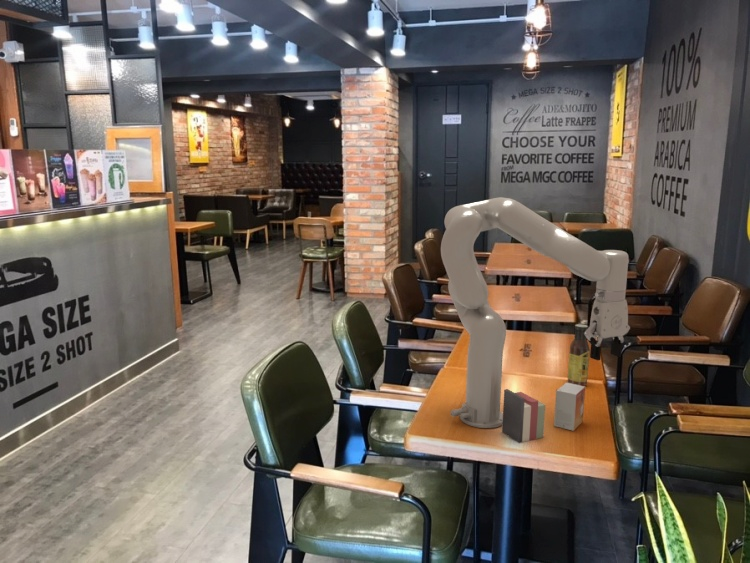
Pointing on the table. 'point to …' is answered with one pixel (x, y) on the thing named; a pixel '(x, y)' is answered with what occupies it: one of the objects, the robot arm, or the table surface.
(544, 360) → the table surface
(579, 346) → the sauce bottle
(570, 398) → the small box
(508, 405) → the book row
